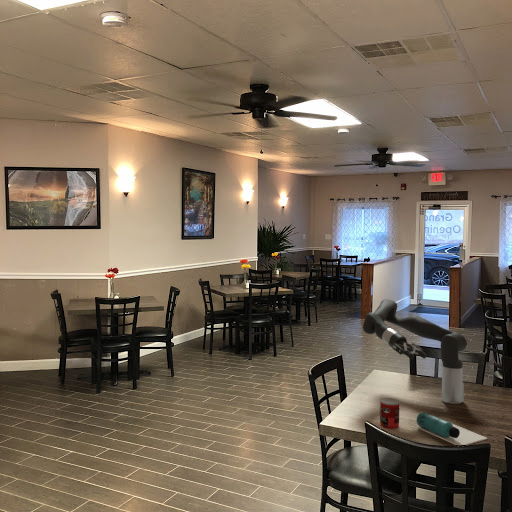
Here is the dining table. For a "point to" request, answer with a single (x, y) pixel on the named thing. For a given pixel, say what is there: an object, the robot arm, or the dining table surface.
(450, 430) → the beverage bottle
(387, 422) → the canned food
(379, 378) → the dining table surface
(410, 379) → the dining table surface
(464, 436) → the mat
